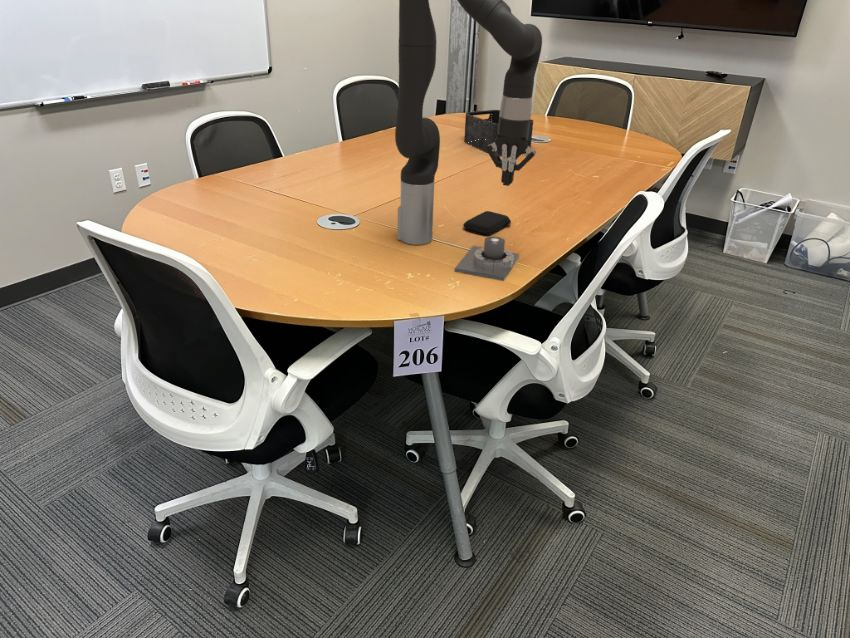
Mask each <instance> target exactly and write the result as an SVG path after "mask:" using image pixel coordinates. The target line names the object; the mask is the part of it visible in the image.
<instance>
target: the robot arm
mask: <svg viewBox="0 0 850 638" xmlns="http://www.w3.org/2000/svg"><path fill="white" fill-rule="evenodd" d="M398 1H399V2H398V3H399V4H398V6H399V7H398V93H397V94H398V96H397V97H398V99H397V109H396V110H397V113H396V123H395V131H394V136H395V137H394V139H395V145H396V148H397V151H398V152H399V154H400V155H401V156H402V157H404V158H405V159H408V160H407V162H406V163H405V165H404V166H403V167H402V168H401V170H400V205H399V206H398V207H397V241H401V242H403V243H405V244H407V245H413V246H415V245H416V246H419V245H420V246H421V245H426V244H428V243H430V242H432V241H433V228H434V227H433V225H434V204H435V203H434V201H435V177H436V173H437V171H438V167H439V158H440V150H441V149H440V147H441V145H440V144H441V137H440V136H441V134H440V131H439V130H440V129H439V127H438V125H437V124H436V122H435V121H434V120H433V119H431V118H429V117H423V113H424V112H423V110H424V102H425V99H426V94H427V93H428V92H427V91H428V89H429V86H430V84H431V82H432V78H433V76H434V73H435V70H436V63H437V62H436V61H437V31H436V27H435V22H434V19H433V15H432V12H431V7H430V2H429V1H430V0H398ZM456 1H457V2H458V3H459V5H460V6H461V7H462V9H463V10H464V11H465V12H466V14H468V15H469V16H470V17H471V18H472V19H473V20H474V21H475V22H476V23H477V24H478V25H480V26H481V27H482V28H483V29H484V30H485V31H486V32H488V33H489V34H490V36H492V39H494V41H495V42H496V43H497V44H498V46H500V48H501V49H502V50H503V51H504V52H505V53H506V54H507V55H509V57H511V58H510V65H509V67H508V69H507V70H506V72H505V75H504V81H503V90H502V97H501V102H500V106H499V108H500V109H499V110H500V115H499V125H498V134H497V137H496V139H495V142H494V143H492V144H489V145H488V146H487V147H486V150H487V152H488V153H487V152H486V153H487V154H488V156H489V157H490V158H491V160H492V162H493V164H494V166H495V167H496V168H498V169H501V178H500V180H501V183H502V185H503V186H506V187H509V186H510V185H511V184H513V182H514V177H515V172H516V171H521V170H522V169H523V167H525V166H526V164H528V163H529V162H530V161H531V160H532V159H533V158H534V157H535V156H536V155H537V151H536V150H533V149H532V147H531V148H530V147H529V142H528V133H529V125H530V119H531V117H532V113H533V112H532V107H533V94H534V87H535V86H534V85H535V76H536V73H537V68H538V65H539V61H540V57H541V52H542V47H543V36H542V35H543V34H542V32H541V30H540V28H538V26H537V25H535V24H532V23H523V22H522V21H521V20H520V19H518V18H517V17H516V16H515V15H514V14H513V13H512V9H511V7H510V6H509V5H508V4H507V2H505V1H504V0H456ZM496 146H497V147H496ZM497 148H498V150H499V152H500V154H501V156H500V155H498V153H497V151H496V150H497ZM525 150H526V153H523V152H524V151H525ZM522 154H524V157H525V158H523V160H521V161H520V162H519V163H518V164H517V162H518V160H519V157H520V156H522Z"/></svg>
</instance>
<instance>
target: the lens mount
mask: <svg viewBox="0 0 850 638" xmlns="http://www.w3.org/2000/svg"><path fill="white" fill-rule="evenodd" d="M483 254H484V246H477V245H473V246H472V247H471V248H470V249H469V250H468V251H467V252H466V253H465V255H464V256H463V257H462V259H461V260H460V261H459V262H458V263H457V265H456V266H455V267H454V272H456V273H459V274H460V273H461V274H466V275H471V276H476V277H482V278H487V279H491V280H498V281H503V282H504V281H505V280H506V278H507V277H508V276H509V274H510V272H511V270H512V269H513V267H514V266H515V264H516V262H517V260H518V259H519V257H520V253H517V252H511V251H510V250H508V249H506V248H504V255H503V259H501V260H491V259H487V258H485V257H483Z"/></svg>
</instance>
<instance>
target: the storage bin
mask: <svg viewBox="0 0 850 638" xmlns="http://www.w3.org/2000/svg"><path fill="white" fill-rule="evenodd" d="M483 115H489V116H488V118H480V117H477V116H483ZM499 115H500V109H489V110H479V111H477V110H475V111H467V112H466V113H465V122H464V123H465V124H464V141H463V142H465V143H464V144H466V143H467V145H468V144H470V145H469V146H471V145H472V146H471V147H473V146H474V147H473V148H475V147H476V148H475V149H478V148H479V149H478V150H480V149H481V150H480V151H482V150H483V151H482V152H485V151H486V152H485V153H487V150H486V147H487V146H488V145H489V144H492V143H494V142H495V139H496V137H497V134H498V125H499ZM533 130H534V120H533V119H531V118H530V125H529V133H528V142H529V147H530V148H531V149H532V139H533V138H532V136H533ZM478 139H479V140H478ZM485 139H486V140H485ZM475 140H476V141H475ZM471 141H472V142H471ZM468 142H469V143H468ZM496 147H497V146H496ZM496 151H497V153H498V155H499V157H502V155H501V154H500V152H499V150H498V148H497V150H496ZM525 152H526V150H525V151H524V152H523V153H522V154H525Z"/></svg>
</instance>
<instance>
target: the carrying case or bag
mask: <svg viewBox="0 0 850 638" xmlns="http://www.w3.org/2000/svg"><path fill="white" fill-rule="evenodd" d="M511 224H512V220H511V219H510V217H509V216H508V215H506V214H502V213H497V212H494V211H489V210H485V211H483V212H481V213H479V214H477V215H475V216H473V217H472V218H469V219H468V220H466V221H465V222H464V223H463V226H462V227H463V229H465V231H467V232H471V233H474V234H477V235H481V236H486V237H489V236H490V235H492V234H494V233H496V232H498V231H499V230H501V229H503V228H505V227H506V226H507V227H509V226H510V225H511Z"/></svg>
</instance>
